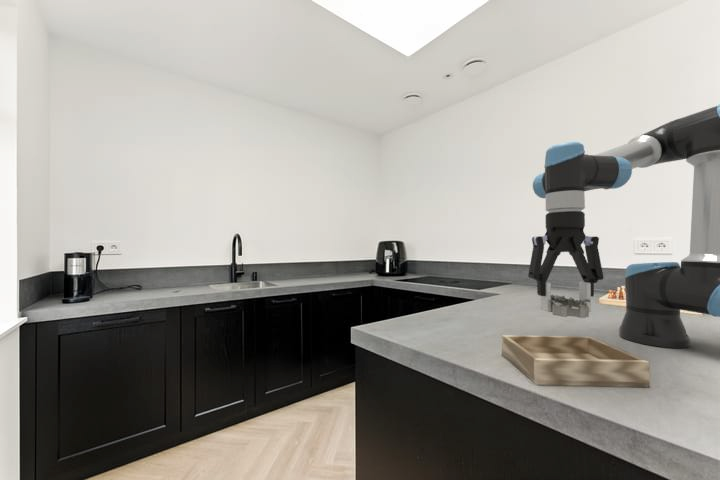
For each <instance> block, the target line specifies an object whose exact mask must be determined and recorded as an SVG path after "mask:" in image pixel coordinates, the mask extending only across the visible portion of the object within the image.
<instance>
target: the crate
mask: <svg viewBox="0 0 720 480" xmlns="http://www.w3.org/2000/svg"><path fill="white" fill-rule="evenodd" d="M501 356H503V357H504V358H505V359H506V360H508V362H510V363H511V364H512V365H513V366H514V367H515V368H516V369H518V370H519V371H520V372H521V373H523V375H524V376H526V377H527V378H528V379H529V380H531V381H532V382H533V383H534V384H535V385H536V386H569V387H571V386H572V387H573V386H575V387H577V386H578V387H579V386H580V387H615V388H617V387H619V388H621V387H623V388H624V387H625V388H650V387H651V379H650V378H651V377H650V375H651V373H650V372H651V371H650V370H651V369H650V362H649V361H648V360H645V359H644V358H641V357H638V356H635V355H634V354H631V353H629V352H627V351H625V350H622V349H620V348H618V347H615V346H613V345H611V344H608V343H605V342H603V341H600V339H596V338H594V337H591V336H579V335H578V336H576V335H574V336H572V335H510V334H509V335H508V334H507V335H505V334H502V335H501Z"/></svg>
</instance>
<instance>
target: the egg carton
mask: <svg viewBox="0 0 720 480" xmlns="http://www.w3.org/2000/svg"><path fill="white" fill-rule="evenodd" d="M549 301H551V312H550V311H547V312H548V313H552V315H553V316H557V317H562V318H568V317H575V318H580V319H586V318H589V316H590V312H589V307H588V306H587V305H586V304H587V303H589V302H590V300H589V299H585V300H578V299H575V298H573V297H569V298H566V297H565V296H564V295H562V296H560V295H554V294H551V300H549Z"/></svg>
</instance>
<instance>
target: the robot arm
mask: <svg viewBox="0 0 720 480" xmlns="http://www.w3.org/2000/svg"><path fill="white" fill-rule="evenodd" d="M585 153H586V151H585V145H584V144H582V143H580V142H579V141H570V142H561V143H557V144H555V145H552V146H551V147H548V149H547V150H546V151H545V158H544V166H543V167H544V172H542V173H539V174H538V175H537V176H535V177H534V179H533V181H532V190H533V191H534V194H535V195H536V196H537V197H538V198H541V199H545V211H546V212H548V213H546V214H545V231H546V232H545V234H544V235H542V236H541V235H539V236H533V237H532V238H531V241H532V251H531V252H532V253H531V258H530V262H529V263H530V264H529V269H528V278H529V279H533V280H534V281H536V287H537V288H536V294H537V296H540V310H542V311H545V312H548V311H550V312H549V313H552V312H551V301H549V300H551V295H552V294H551V293H552V291H551V290H552V288H551V287H552V285H551V284H552V283H551V282H549V281H548V280H549V277H550V275H551V272H552V270H553V269H554V268H553V267H554V266H555V263H556V261H557V259H558V257H559V256H560V255H561V253H568V254H569V255H570V256H571V257H572V260H573V261H574V264H575V266H576V268H577V270H578V273H579V275H580V276H581V279H582V281H578V285H579V286H578V299H579V300H585V299H589V300H590V302H589V303H587V304H586V305H587V306H588V307H589V313H591V312H592V304H591V303H592V297H594V295H595V286H594V285H595V284H597V283H598V281H602V280H603V279H604V273H603V266H602V263H601V258H600V252H599V248H598V247H599V241H600V238H599V236H591V235H590V236H589V235H588V236H587V235H586V233H585V232H584V229H585V227H586V222H585V221H586V218H585V216H586V215H585V212H584V210H585V208H586V204H585V203H586V201H585V200H586V198H585V192H588V191H594V190H599V189H603V190H610V189H613V190H614V189H619V188H621V187H623V186H625V185H626V184H627V183H628V182H629V180H630V179H631V178H632V174H633V170H634V169H636V168H640V169H641V168H649V167H651V166H652V167H653V166H655V165H659V164H664V163H670V162H676V161H677V162H678V161H681V160H682V161H683V160H685V161H686V163H688V164H690V165H692V166H693V178H692V179H693V181H692V182H693V183H692V184H693V185H692V202H691V204H692V205H691V220H690V237H689V238H690V241H689V254H688V256H686V257H684V258H682V259H681V261H680V263H679V262H676V261H665V262H660V261H659V262H643V263H633V264H632V263H631V264H629V265H628V266H627V267H626V268H625V276H624V279H625V303H626V305H625V309H626V310H625V314H624V316H623V319H622V322H621V324H620V326H619V328H618V335H619V337H620V338H623V339H625V340H627V341H631V342H634V343H639V344H642V345H647V346H653V347H660V348H671V349H686V348H690V347H691V345H690V343H691V342H690V341H691V339H690V336H689V335H688V334H687V331H686V328H685V325H684V323H683V321H682V318H681V311H687V312H691V313H692V312H693V313H697V314H705V315H709V316H712V317H717V318H718V317H719V318H720V104H718V105H716V106H712V107H710V108H707V109H704V110H702V111H698V112H696V113H695V112H694V113H692V114H689V115H686V116H683V117H681V118H677V119H674V120H671V121H668V122H667V123H665V124H662V125H660V126H658V127H656V128H653V129H652V130H650V131H646V132H645V133H642V134H639V135H637V136H635V137H633V138H632V139H630V140H629V141H628V142H627V143H625V144H621V145H619V146H617V147H614V148H612V149H611V148H610V149H609V150H606V151H603V152H599V153H597V154H592V155H591V154H585ZM582 210H583V211H582ZM546 243H547V244H548V245H549V246H548V248H547V250H546V255H545V257H544V259H543V256H544V250H545V245H546ZM582 244H584V249H583V247H582ZM584 250H585V251H584ZM585 255H586V256H585ZM579 300H578V301H579Z"/></svg>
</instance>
